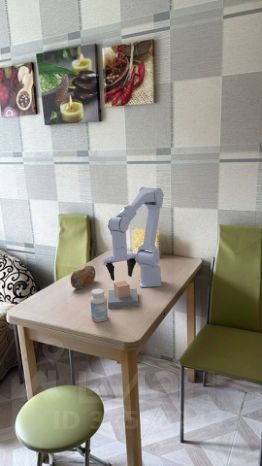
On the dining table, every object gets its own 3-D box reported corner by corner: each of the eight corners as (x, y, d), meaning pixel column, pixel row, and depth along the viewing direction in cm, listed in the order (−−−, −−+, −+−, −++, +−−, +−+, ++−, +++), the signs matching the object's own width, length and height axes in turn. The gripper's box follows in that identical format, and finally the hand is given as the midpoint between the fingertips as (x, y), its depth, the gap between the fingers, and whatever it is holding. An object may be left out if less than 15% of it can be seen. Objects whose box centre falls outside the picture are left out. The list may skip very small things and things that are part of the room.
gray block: (136, 294, 153) (136, 288, 153) (138, 307, 142) (138, 300, 141) (109, 296, 153) (108, 290, 152) (108, 309, 142) (107, 302, 141)
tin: (75, 291, 158) (73, 274, 156) (70, 290, 160) (68, 273, 158) (96, 280, 171) (95, 263, 168) (91, 279, 172) (90, 262, 170)
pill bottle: (92, 315, 136) (89, 288, 133) (107, 314, 137) (105, 287, 134) (91, 323, 131) (89, 295, 128) (108, 321, 131) (106, 293, 128)
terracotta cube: (125, 291, 150) (124, 280, 149) (130, 295, 146) (129, 284, 145) (114, 294, 148) (113, 283, 147) (119, 298, 144) (118, 287, 143)
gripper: (131, 241, 148) (133, 271, 152) (99, 246, 143) (101, 278, 146) (139, 245, 142) (140, 276, 146) (105, 251, 136) (107, 284, 140)
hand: (121, 277), depth 145 cm, fingers open, 7 cm apart
